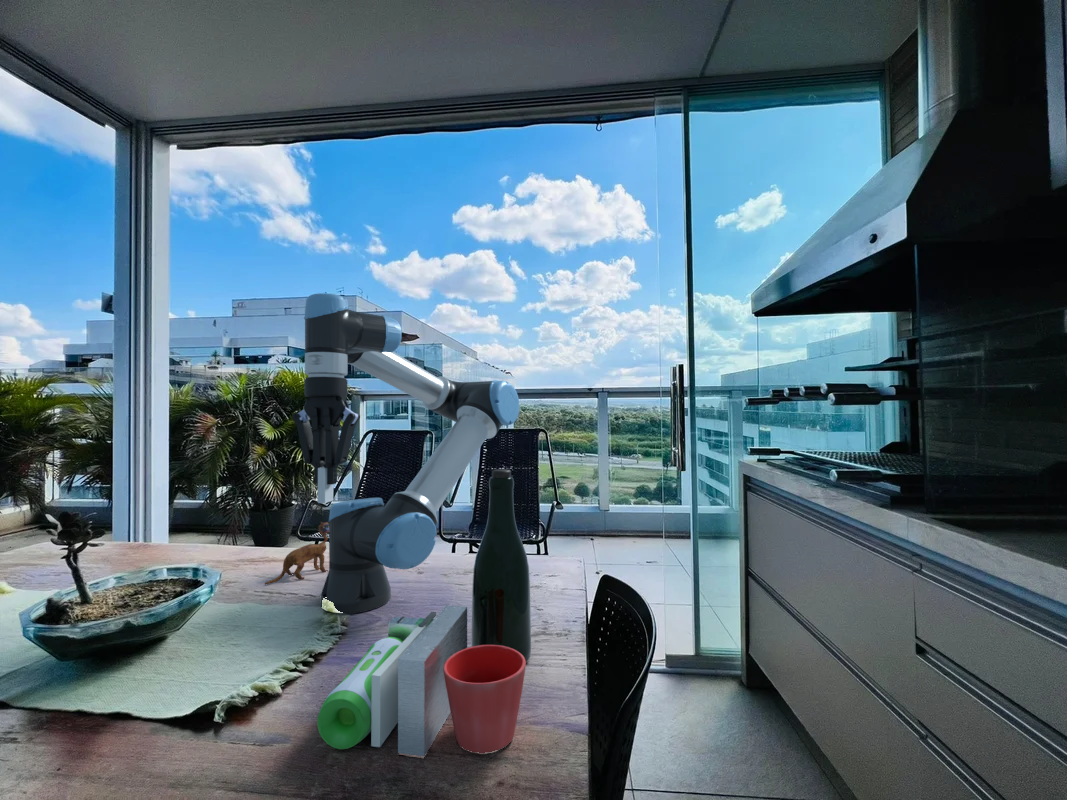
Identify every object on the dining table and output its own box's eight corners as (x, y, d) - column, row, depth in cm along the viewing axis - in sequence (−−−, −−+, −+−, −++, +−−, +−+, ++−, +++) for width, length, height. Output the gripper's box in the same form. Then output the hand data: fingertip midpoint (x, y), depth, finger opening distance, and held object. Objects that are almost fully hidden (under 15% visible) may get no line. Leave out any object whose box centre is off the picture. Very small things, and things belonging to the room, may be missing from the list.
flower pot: (447, 713, 71) (447, 645, 71) (523, 709, 72) (523, 641, 72) (439, 766, 60) (439, 686, 60) (528, 760, 61) (528, 681, 61)
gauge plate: (371, 746, 63) (371, 673, 63) (430, 666, 83) (430, 611, 83) (380, 747, 63) (380, 674, 63) (437, 667, 83) (437, 611, 83)
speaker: (370, 678, 80) (371, 631, 81) (414, 680, 80) (414, 633, 80) (313, 752, 63) (313, 693, 63) (368, 756, 62) (368, 695, 62)
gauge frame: (325, 746, 64) (326, 652, 64) (395, 667, 83) (395, 595, 84) (424, 758, 61) (424, 661, 62) (471, 674, 81) (471, 601, 81)
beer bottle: (525, 642, 93) (525, 465, 93) (536, 670, 82) (535, 472, 83) (469, 646, 91) (470, 467, 92) (472, 676, 80) (473, 473, 81)
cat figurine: (271, 592, 121) (269, 536, 121) (258, 586, 125) (256, 532, 125) (338, 569, 135) (336, 520, 135) (325, 565, 139) (323, 517, 139)
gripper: (282, 375, 91) (281, 504, 90) (347, 374, 89) (346, 506, 88) (307, 378, 98) (306, 497, 98) (368, 377, 96) (367, 499, 96)
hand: (325, 501), depth 93 cm, fingers closed
